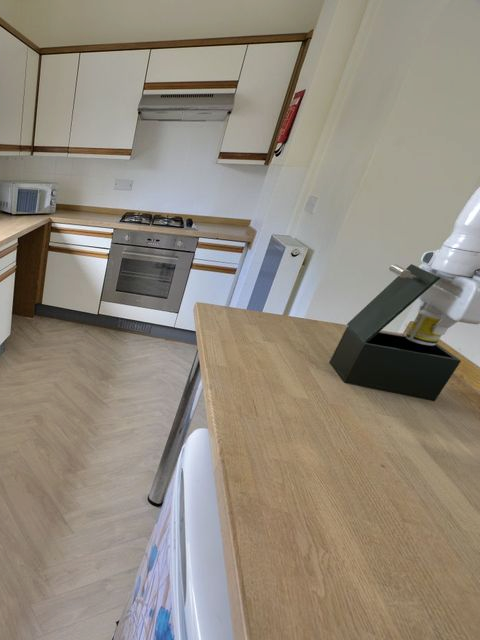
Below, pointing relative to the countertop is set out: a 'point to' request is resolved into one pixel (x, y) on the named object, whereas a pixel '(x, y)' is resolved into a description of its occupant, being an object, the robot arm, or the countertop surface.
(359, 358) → the bin
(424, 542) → the countertop surface
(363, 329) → the bin lid
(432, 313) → the supplement bottle
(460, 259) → the robot arm
